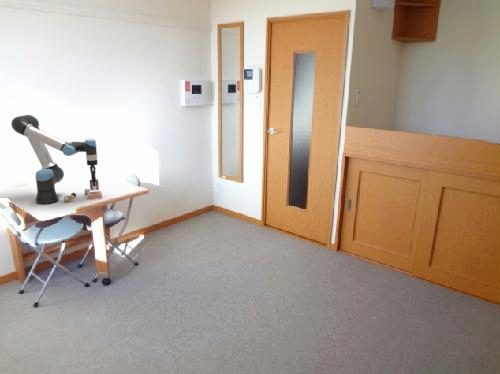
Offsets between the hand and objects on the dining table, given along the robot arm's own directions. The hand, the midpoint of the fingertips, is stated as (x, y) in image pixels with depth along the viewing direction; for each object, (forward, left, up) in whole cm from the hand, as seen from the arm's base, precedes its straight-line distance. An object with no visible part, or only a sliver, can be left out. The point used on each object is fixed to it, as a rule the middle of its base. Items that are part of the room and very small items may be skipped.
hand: (94, 188), depth 302 cm
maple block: (-18, -6, -7) cm, 20 cm away
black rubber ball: (-15, +4, -5) cm, 16 cm away
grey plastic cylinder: (-5, +9, -7) cm, 12 cm away
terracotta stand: (0, 0, -7) cm, 7 cm away
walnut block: (0, 0, 0) cm, 0 cm away
